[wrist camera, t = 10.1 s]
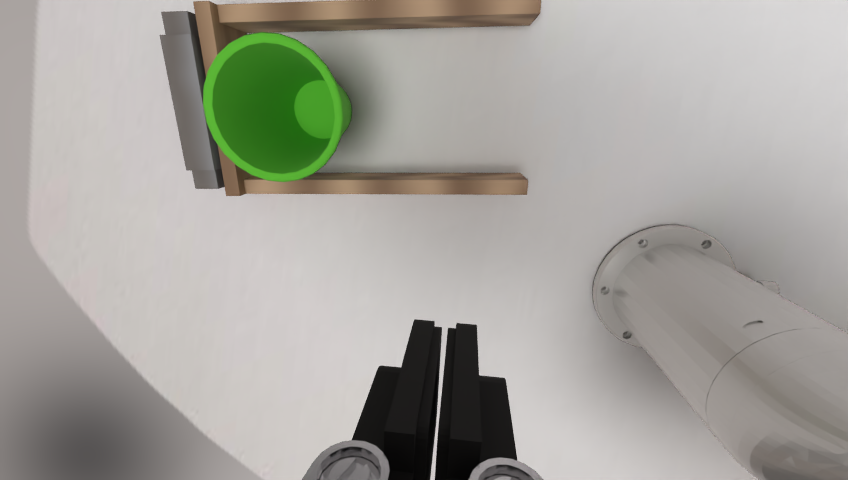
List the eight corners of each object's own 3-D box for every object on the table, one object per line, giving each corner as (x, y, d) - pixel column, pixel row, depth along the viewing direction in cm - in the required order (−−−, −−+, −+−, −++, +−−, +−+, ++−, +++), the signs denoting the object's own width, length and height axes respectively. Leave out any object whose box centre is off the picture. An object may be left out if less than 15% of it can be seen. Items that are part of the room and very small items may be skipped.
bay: (530, 8, 31) (545, -12, 26) (519, 186, 36) (530, 198, 31) (199, 18, 33) (153, 1, 28) (227, 185, 38) (191, 196, 33)
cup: (256, 81, 34) (173, 70, 24) (346, 36, 33) (300, 4, 22) (303, 175, 37) (247, 202, 27) (390, 138, 35) (366, 151, 25)
